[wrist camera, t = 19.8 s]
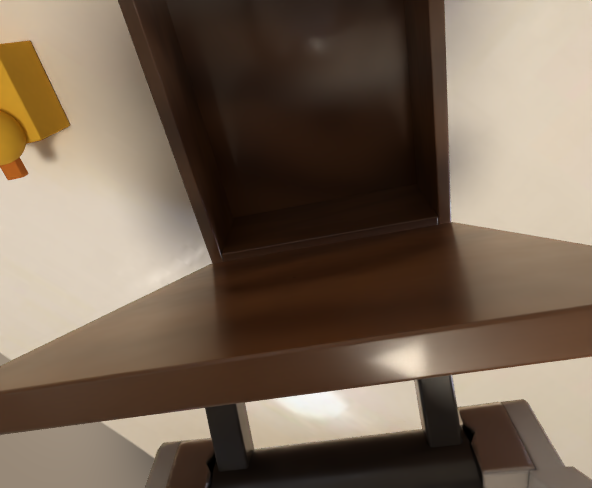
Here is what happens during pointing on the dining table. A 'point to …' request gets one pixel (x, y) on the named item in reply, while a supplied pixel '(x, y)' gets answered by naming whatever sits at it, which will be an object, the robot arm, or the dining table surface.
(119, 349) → the lid
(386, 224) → the chest
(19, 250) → the dining table surface
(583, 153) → the dining table surface
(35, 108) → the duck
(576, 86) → the dining table surface
